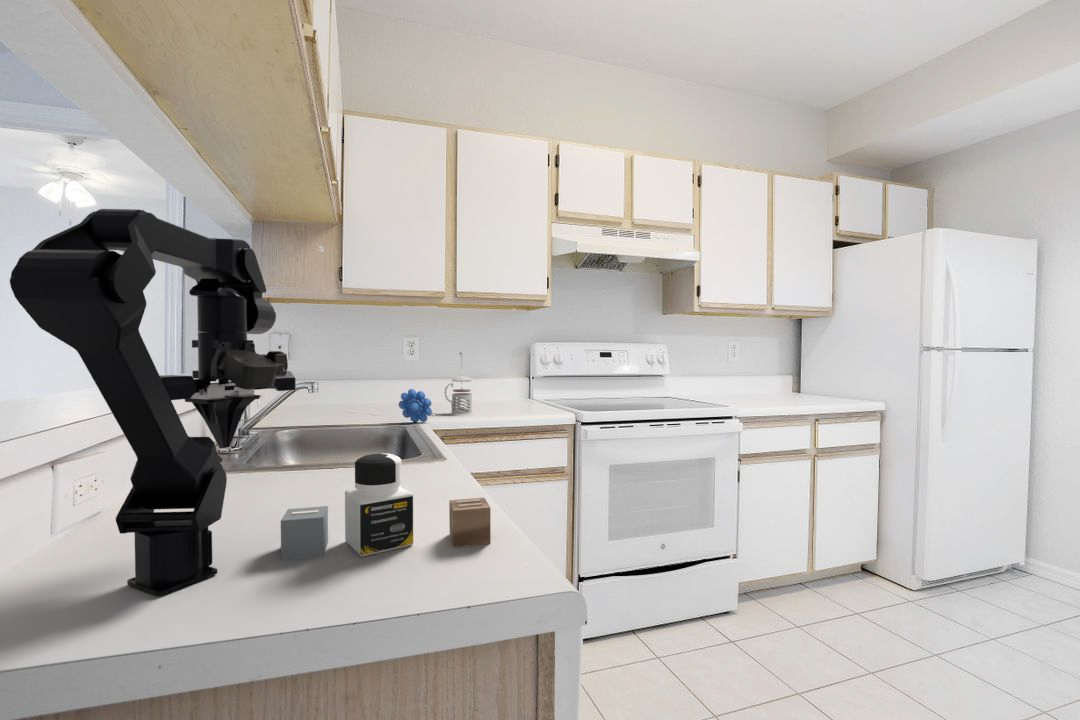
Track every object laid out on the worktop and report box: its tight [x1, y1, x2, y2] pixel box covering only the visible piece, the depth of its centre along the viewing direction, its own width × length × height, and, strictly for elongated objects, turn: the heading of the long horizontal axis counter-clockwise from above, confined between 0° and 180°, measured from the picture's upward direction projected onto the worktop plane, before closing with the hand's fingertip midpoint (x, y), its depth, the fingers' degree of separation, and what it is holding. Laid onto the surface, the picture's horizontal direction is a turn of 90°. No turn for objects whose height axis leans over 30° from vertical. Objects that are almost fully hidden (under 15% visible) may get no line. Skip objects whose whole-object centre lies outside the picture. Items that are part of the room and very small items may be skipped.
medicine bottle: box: [344, 452, 414, 558], centre depth 71 cm, size 7×7×12 cm
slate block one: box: [280, 505, 329, 561], centre depth 69 cm, size 5×5×5 cm
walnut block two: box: [448, 497, 492, 548], centre depth 73 cm, size 5×5×5 cm
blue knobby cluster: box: [398, 388, 433, 423], centre depth 185 cm, size 12×7×12 cm, turn 95°
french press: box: [444, 351, 475, 417], centre depth 209 cm, size 10×12×25 cm
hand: (224, 447), depth 72 cm, fingers closed
